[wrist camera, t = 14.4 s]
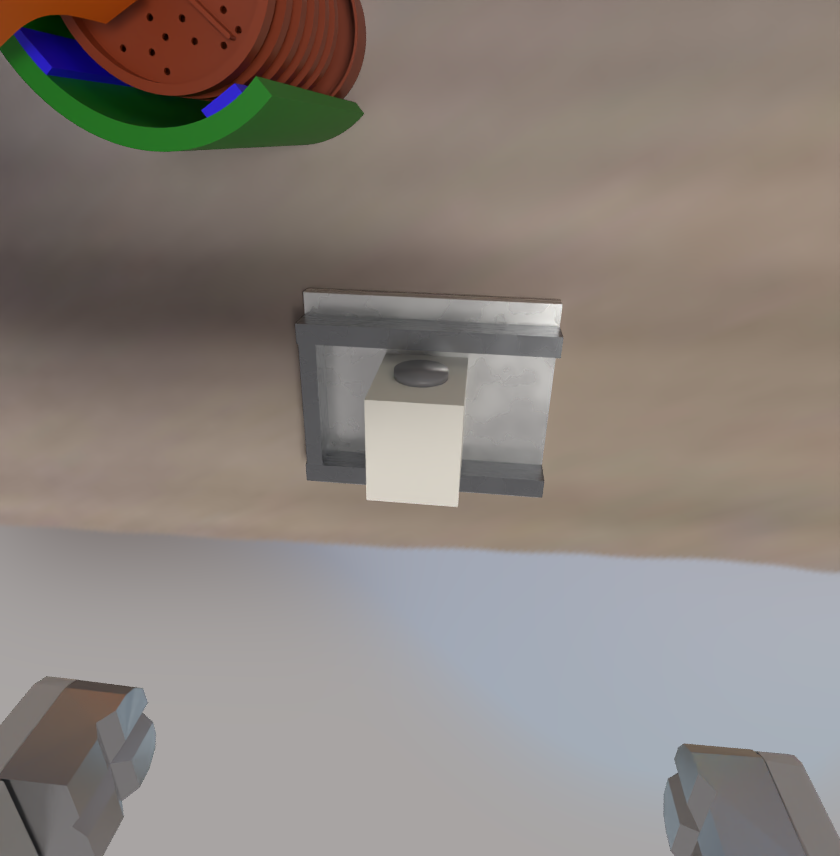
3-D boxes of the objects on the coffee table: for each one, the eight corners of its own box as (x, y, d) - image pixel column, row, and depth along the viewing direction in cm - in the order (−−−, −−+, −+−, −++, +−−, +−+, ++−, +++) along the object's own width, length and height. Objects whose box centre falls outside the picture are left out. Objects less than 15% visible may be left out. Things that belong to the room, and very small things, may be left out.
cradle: (319, 473, 42) (308, 497, 39) (308, 288, 36) (293, 300, 33) (536, 489, 41) (539, 514, 38) (560, 299, 35) (566, 314, 32)
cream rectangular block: (386, 440, 39) (366, 499, 33) (385, 346, 36) (364, 391, 30) (462, 445, 39) (457, 506, 32) (468, 350, 36) (464, 397, 29)
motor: (412, 71, 30) (304, -10, 13) (287, 185, 34) (59, 248, 16) (277, -132, 27) (-115, -611, 10) (153, 14, 31) (-317, -146, 13)
